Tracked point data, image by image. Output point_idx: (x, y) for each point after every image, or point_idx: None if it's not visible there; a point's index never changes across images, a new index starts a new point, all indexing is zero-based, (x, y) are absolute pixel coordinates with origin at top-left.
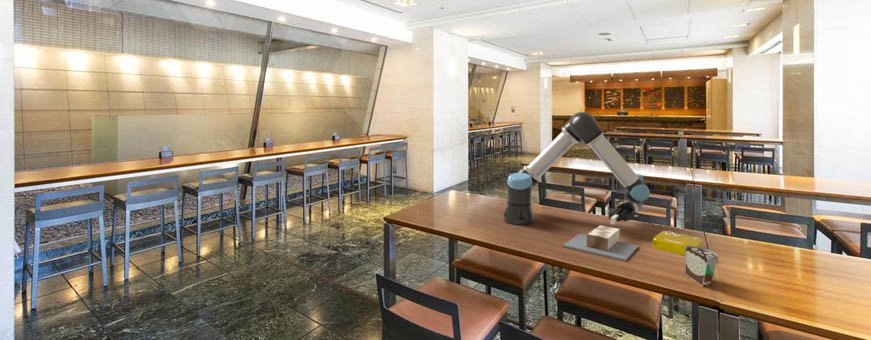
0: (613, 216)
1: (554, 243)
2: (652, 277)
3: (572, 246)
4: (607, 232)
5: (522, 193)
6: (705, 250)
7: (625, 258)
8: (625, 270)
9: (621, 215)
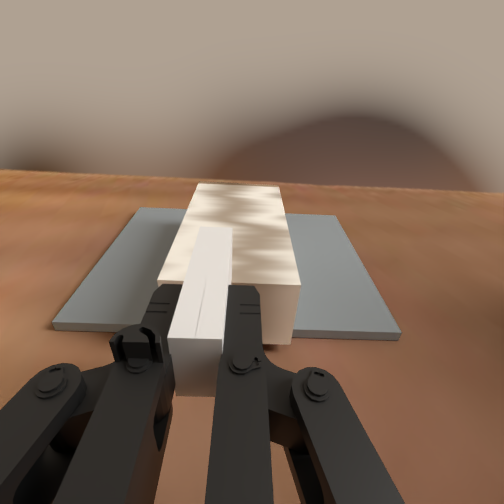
0: (219, 260)
1: (372, 229)
2: (86, 185)
3: (307, 217)
4: (216, 216)
5: None
6: None
7: (140, 210)
8: (144, 188)
9: (123, 351)
